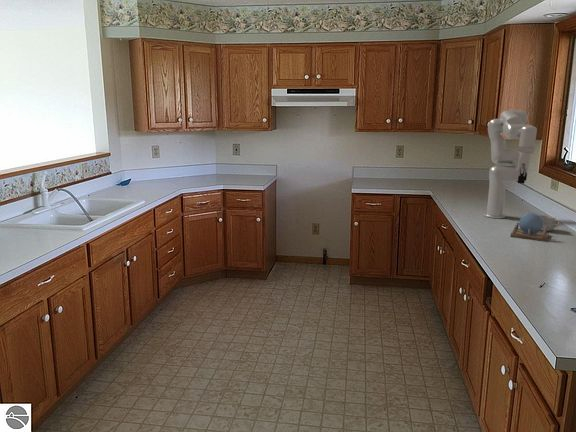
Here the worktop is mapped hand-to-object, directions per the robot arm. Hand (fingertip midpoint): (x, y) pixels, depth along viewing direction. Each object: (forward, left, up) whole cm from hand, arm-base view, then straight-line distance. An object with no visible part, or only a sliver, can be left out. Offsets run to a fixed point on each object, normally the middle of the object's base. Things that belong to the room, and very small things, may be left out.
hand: (521, 181), depth 262 cm
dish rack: (+7, +7, -28) cm, 29 cm away
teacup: (-11, +14, -28) cm, 33 cm away
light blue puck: (+10, +7, -26) cm, 29 cm away
